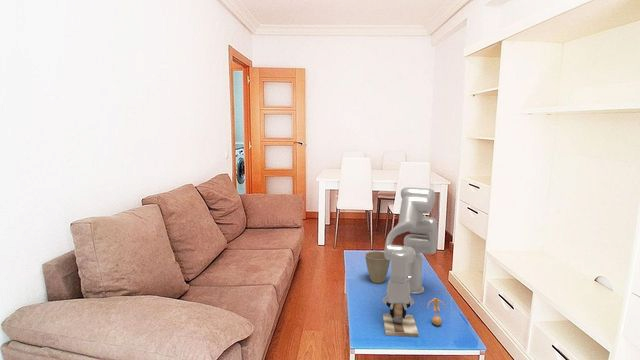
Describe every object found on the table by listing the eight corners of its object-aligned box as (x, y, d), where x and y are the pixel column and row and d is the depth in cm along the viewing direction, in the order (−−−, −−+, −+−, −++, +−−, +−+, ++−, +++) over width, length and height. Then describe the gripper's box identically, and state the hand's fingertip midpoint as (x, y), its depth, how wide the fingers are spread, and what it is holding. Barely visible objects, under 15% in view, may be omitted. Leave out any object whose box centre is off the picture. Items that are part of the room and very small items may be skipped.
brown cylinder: (392, 317, 166) (392, 298, 164) (401, 317, 165) (402, 299, 164) (393, 322, 161) (393, 303, 160) (403, 322, 161) (403, 303, 160)
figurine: (429, 327, 163) (430, 302, 161) (425, 320, 169) (426, 296, 167) (447, 327, 163) (448, 302, 161) (442, 320, 169) (443, 296, 167)
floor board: (382, 316, 172) (382, 313, 172) (412, 318, 171) (412, 314, 171) (385, 335, 156) (385, 331, 156) (418, 337, 155) (418, 333, 155)
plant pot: (388, 276, 220) (389, 251, 218) (391, 286, 206) (391, 259, 203) (364, 275, 222) (364, 250, 220) (364, 285, 207) (365, 258, 205)
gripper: (416, 275, 164) (415, 313, 166) (379, 274, 165) (378, 311, 168) (419, 282, 156) (418, 322, 159) (380, 280, 158) (379, 320, 160)
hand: (397, 316), depth 163 cm, fingers closed on brown cylinder, 4 cm apart
